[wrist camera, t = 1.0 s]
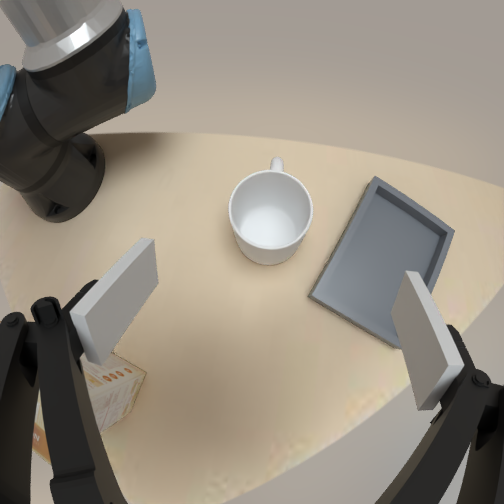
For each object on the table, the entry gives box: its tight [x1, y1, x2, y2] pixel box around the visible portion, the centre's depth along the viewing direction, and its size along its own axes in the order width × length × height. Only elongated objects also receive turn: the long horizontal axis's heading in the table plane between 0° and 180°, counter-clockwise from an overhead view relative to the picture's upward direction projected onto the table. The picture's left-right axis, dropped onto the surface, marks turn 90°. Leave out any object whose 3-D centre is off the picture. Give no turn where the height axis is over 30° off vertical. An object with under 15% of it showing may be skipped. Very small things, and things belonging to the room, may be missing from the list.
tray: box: [308, 176, 455, 350], centre depth 37 cm, size 14×18×3 cm
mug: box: [228, 157, 313, 265], centre depth 35 cm, size 12×8×10 cm
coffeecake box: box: [0, 321, 146, 465], centre depth 27 cm, size 15×7×20 cm, turn 67°
